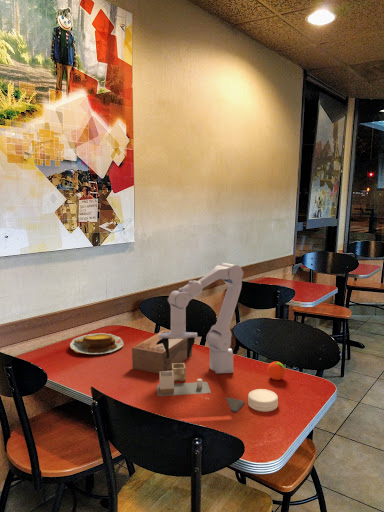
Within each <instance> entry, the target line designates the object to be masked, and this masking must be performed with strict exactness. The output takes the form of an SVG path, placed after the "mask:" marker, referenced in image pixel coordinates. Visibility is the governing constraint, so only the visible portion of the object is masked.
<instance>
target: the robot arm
mask: <svg viewBox="0 0 384 512" xmlns="http://www.w3.org/2000/svg"><path fill="white" fill-rule="evenodd" d="M244 274H245V273H244V271H243V269H242V267H241V266H240V265H239V264H231V263H228V262H220V263H219V264H217V265H215V266H214V268H213V269H211V270H210V271H209V272H208V273H206V274H205V275H204V276H202V277H201V278H199V279H198V280H189V281H188V283H187V284H186V285H184V286H182V287H179V288H178V290H172V291H171V293H170V294H169V295H168V298H167V302H168V304H169V306H170V307H169V308H170V331H171V332H169V333H159V332H158V333H159V340H162V343H163V345H164V347H165V350H166V353H167V358H169V340H168V339H187V359H189V358H190V357H189V355H190V351H191V349H192V350H193V347H194V344H195V340H198V332H193V331H192V332H191V331H190V332H189V331H186V330H187V329H186V326H187V323H186V321H187V320H186V318H187V317H186V316H187V315H186V314H187V313H186V311H187V309H186V308H187V307H188V305H189V302H190V301H191V300H193V299H194V298H195V297H197V296H198V295H200V294H201V293H203V289H204V288H205V287H207V286H209V285H211V284H212V283H214V282H216V281H217V280H223V282H224V283H225V285H226V287H227V289H226V291H225V294H224V297H223V301H222V304H221V307H220V310H219V314H218V317H217V320H216V322H215V324H213V325H212V326H211V327H210V330H209V331H208V333H207V334H206V337H205V339H206V343H207V344H208V348H209V369H210V370H211V371H214V372H215V374H232V373H234V352H233V349H232V348H231V345H232V336H233V335H232V332H231V329H230V327H231V323H232V320H233V316H234V313H235V310H236V307H237V303H238V300H239V297H240V294H241V290H242V286H243V283H242V282H243V277H244Z"/></svg>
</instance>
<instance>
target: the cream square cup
mask: <svg viewBox="0 0 384 512" xmlns="http://www.w3.org/2000/svg"><path fill="white" fill-rule="evenodd" d="M174 384H175V381H174V374H173V371H172V370H168V371H159V385H160V393H173V392H174Z"/></svg>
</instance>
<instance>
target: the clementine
mask: <svg viewBox="0 0 384 512" xmlns="http://www.w3.org/2000/svg"><path fill="white" fill-rule="evenodd" d="M266 370H267V374H268V376H269V378H271V379H272V380H274V381H279V380H282V379H283V378H284V377H285V375H286V372H287V369H286V367H285V365H284V364H283V363H281V362H280V361H276V360H274V361H273V362H271V363H269V364H268V366H267V369H266Z"/></svg>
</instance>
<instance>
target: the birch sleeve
mask: <svg viewBox="0 0 384 512" xmlns="http://www.w3.org/2000/svg"><path fill="white" fill-rule="evenodd" d="M171 371H173V374H174V382H186V380H187V379H186V378H187V377H186V375H187V374H186V373H187V371H186V364H185V362H182V363H175V364H172V368H171Z"/></svg>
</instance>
